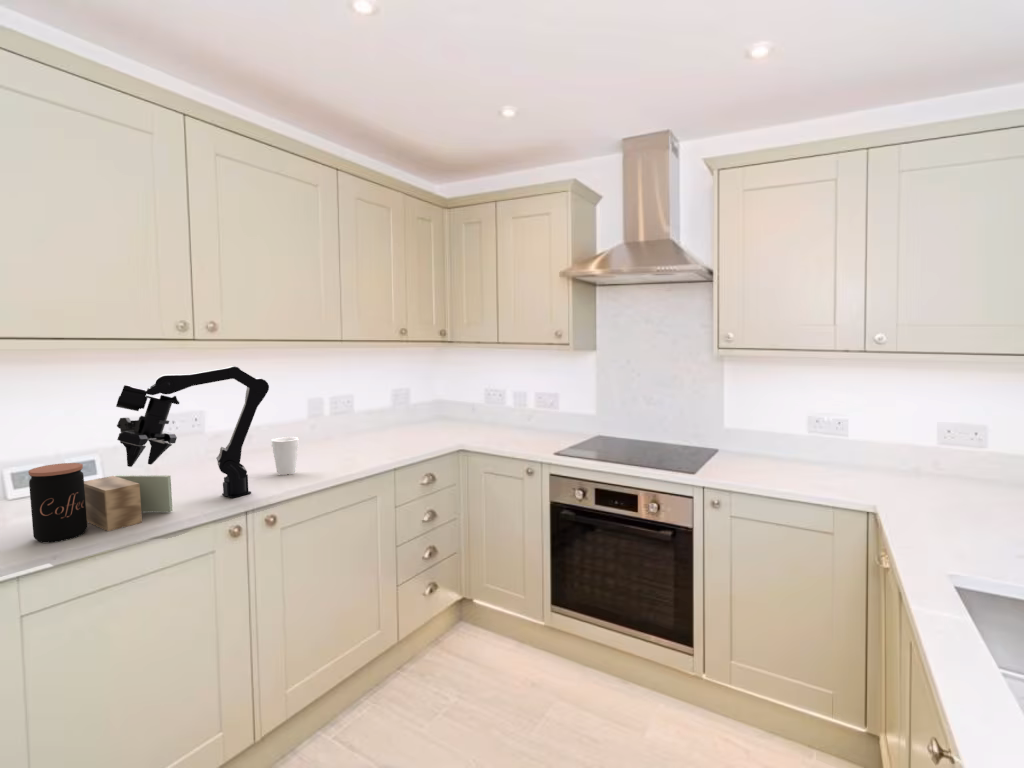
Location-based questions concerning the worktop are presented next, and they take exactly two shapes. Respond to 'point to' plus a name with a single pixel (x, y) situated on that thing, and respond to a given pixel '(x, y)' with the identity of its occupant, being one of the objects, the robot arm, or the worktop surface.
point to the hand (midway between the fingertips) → (139, 465)
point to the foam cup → (285, 454)
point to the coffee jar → (57, 502)
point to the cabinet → (112, 502)
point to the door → (153, 492)
